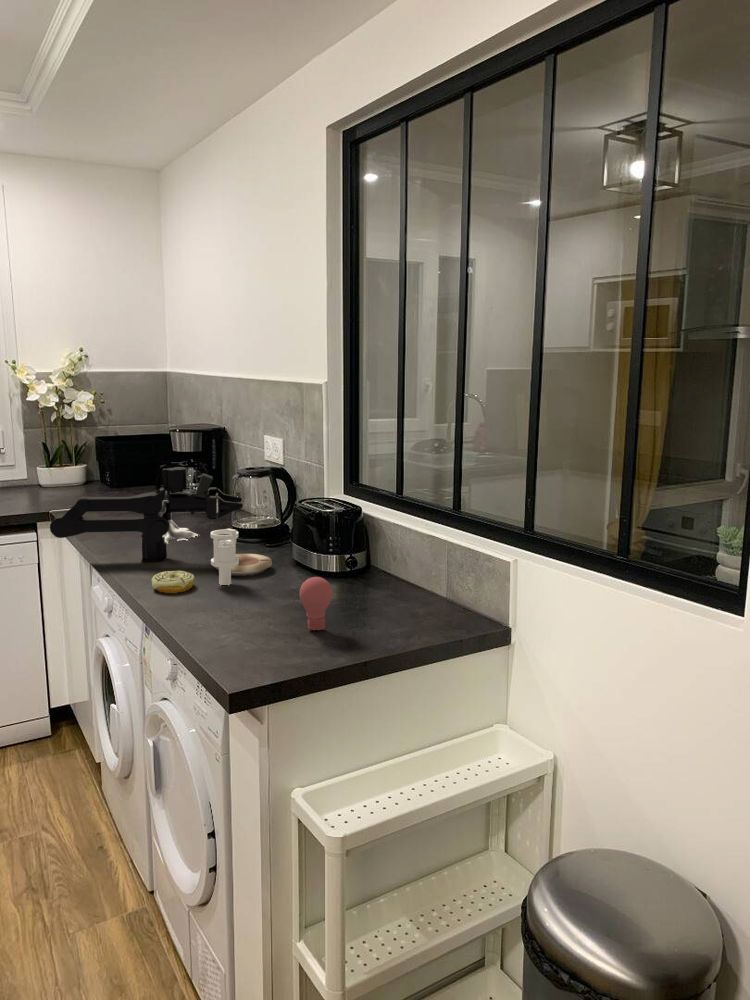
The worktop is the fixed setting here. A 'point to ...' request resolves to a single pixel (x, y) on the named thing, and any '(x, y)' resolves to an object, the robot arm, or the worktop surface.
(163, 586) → the decorated donut
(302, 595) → the light bulb
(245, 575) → the turntable base
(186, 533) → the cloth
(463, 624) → the worktop surface
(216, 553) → the strainer
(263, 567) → the turntable
